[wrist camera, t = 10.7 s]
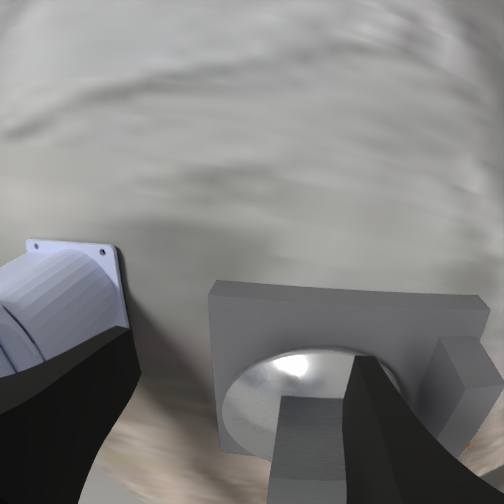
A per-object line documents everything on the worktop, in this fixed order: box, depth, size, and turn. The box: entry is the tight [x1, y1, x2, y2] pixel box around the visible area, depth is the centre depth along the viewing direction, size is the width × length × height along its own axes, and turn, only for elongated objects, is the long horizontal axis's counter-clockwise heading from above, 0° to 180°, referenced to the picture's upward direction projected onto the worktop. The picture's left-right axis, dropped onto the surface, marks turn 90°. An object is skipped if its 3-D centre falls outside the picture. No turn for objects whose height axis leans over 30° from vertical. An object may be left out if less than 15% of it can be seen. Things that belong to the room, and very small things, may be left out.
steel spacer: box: [267, 395, 347, 504], centre depth 16 cm, size 4×4×6 cm
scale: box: [208, 280, 504, 459], centre depth 19 cm, size 18×16×7 cm
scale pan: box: [222, 346, 402, 462], centre depth 19 cm, size 12×12×1 cm
